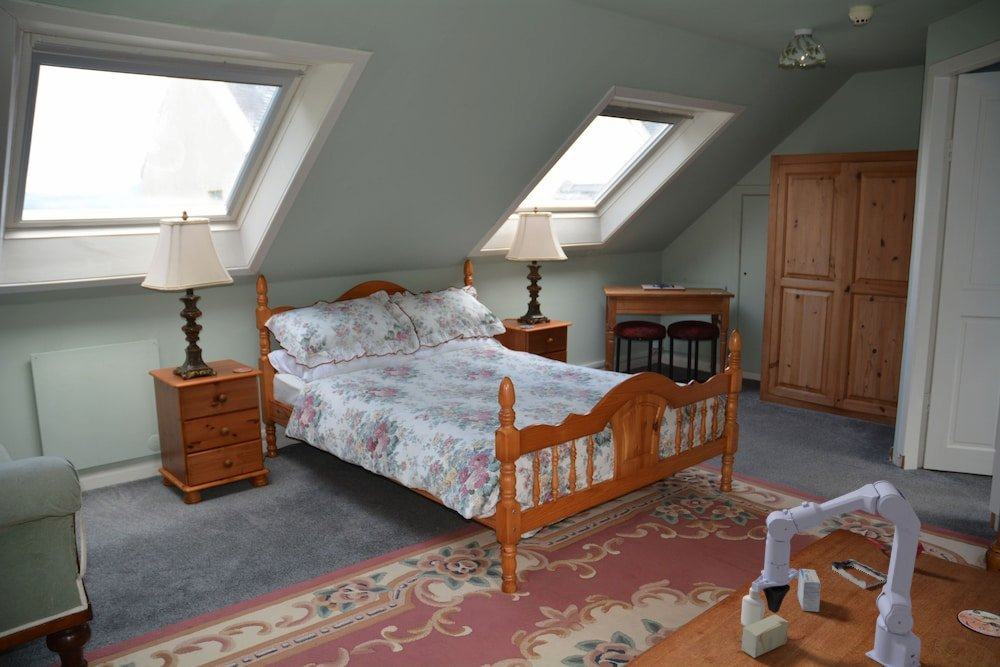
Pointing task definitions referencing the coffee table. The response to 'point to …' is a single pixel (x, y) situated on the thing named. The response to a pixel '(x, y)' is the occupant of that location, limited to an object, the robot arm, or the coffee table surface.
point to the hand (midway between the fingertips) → (773, 610)
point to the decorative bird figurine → (887, 548)
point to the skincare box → (764, 635)
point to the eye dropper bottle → (752, 608)
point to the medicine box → (809, 590)
